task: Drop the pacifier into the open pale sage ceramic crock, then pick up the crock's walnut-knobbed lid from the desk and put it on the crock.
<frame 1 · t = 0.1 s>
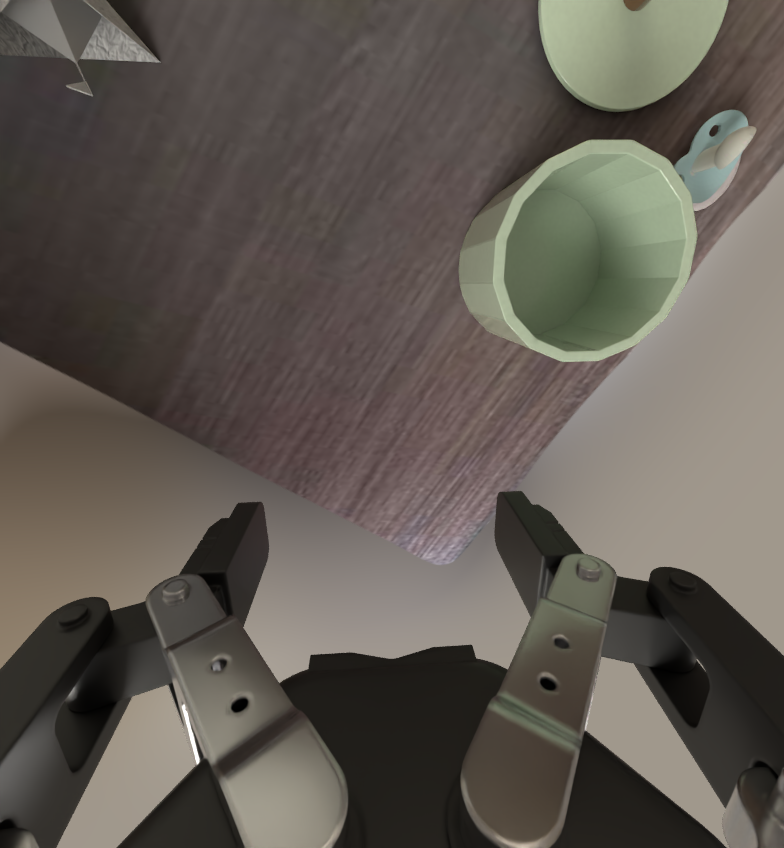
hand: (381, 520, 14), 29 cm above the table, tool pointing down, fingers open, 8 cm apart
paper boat: (83, 58, 32), on the table
crock: (532, 266, 39), on the table
pacifier: (698, 171, 38), on the table
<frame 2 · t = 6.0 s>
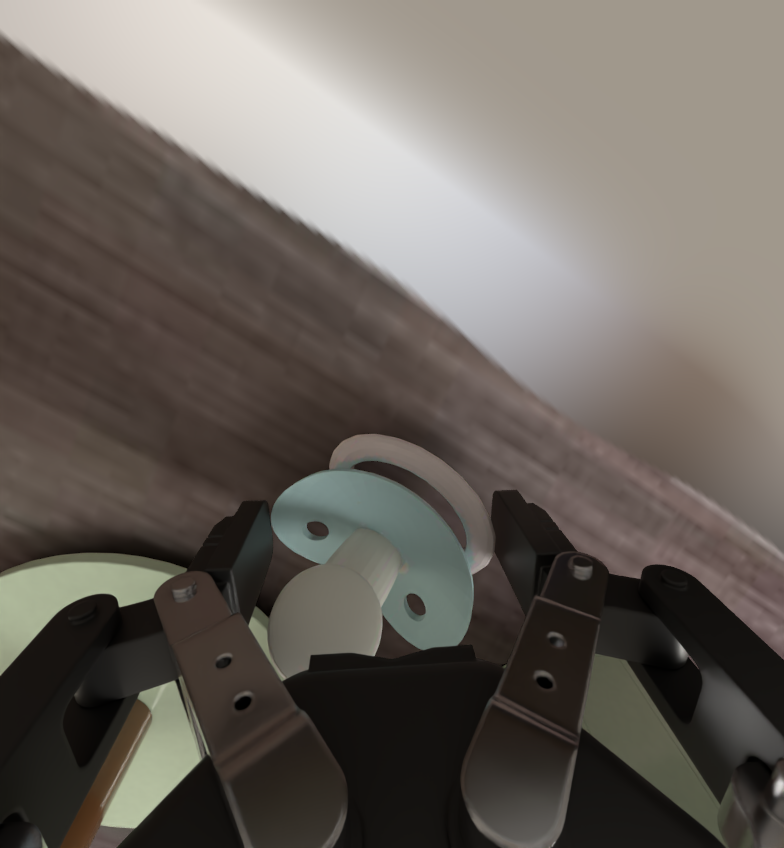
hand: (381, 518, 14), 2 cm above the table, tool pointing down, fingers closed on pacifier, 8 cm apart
lid: (131, 701, 18), point 1 cm above the table
crock: (560, 753, 21), on the table
pacifier: (403, 512, 15), point 1 cm above the table, touching gripper
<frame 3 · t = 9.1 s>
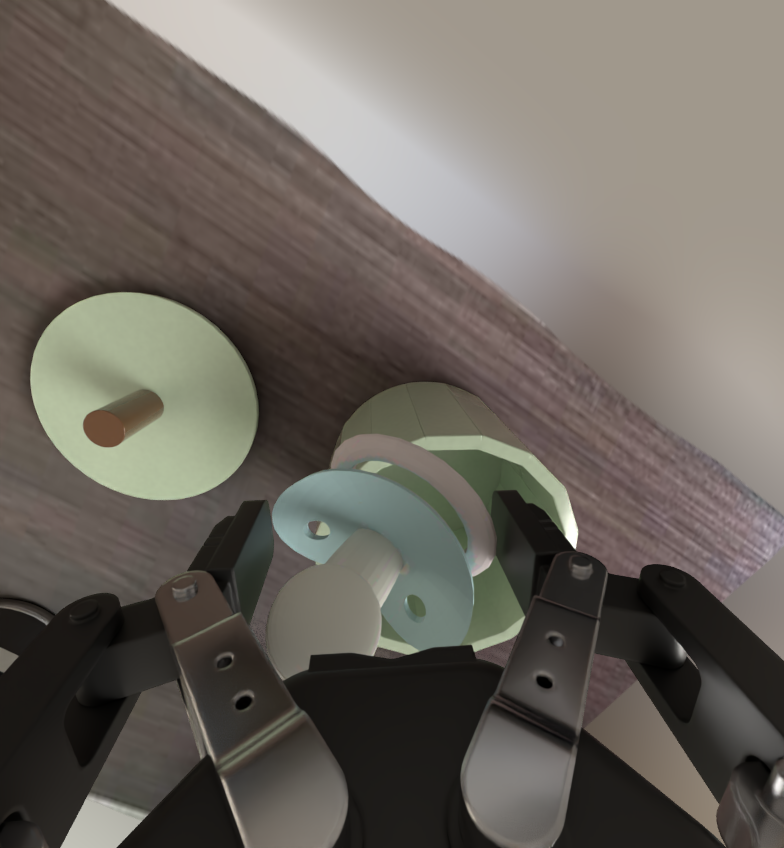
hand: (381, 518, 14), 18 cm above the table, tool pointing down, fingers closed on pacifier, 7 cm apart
lid: (151, 403, 30), point 1 cm above the table
crock: (421, 467, 33), on the table
pacifier: (405, 513, 15), point 17 cm above the table, touching gripper
when the fingers open (12 cm above the table, at t = 12.3 s): pacifier drops 11 cm, resting on crock.
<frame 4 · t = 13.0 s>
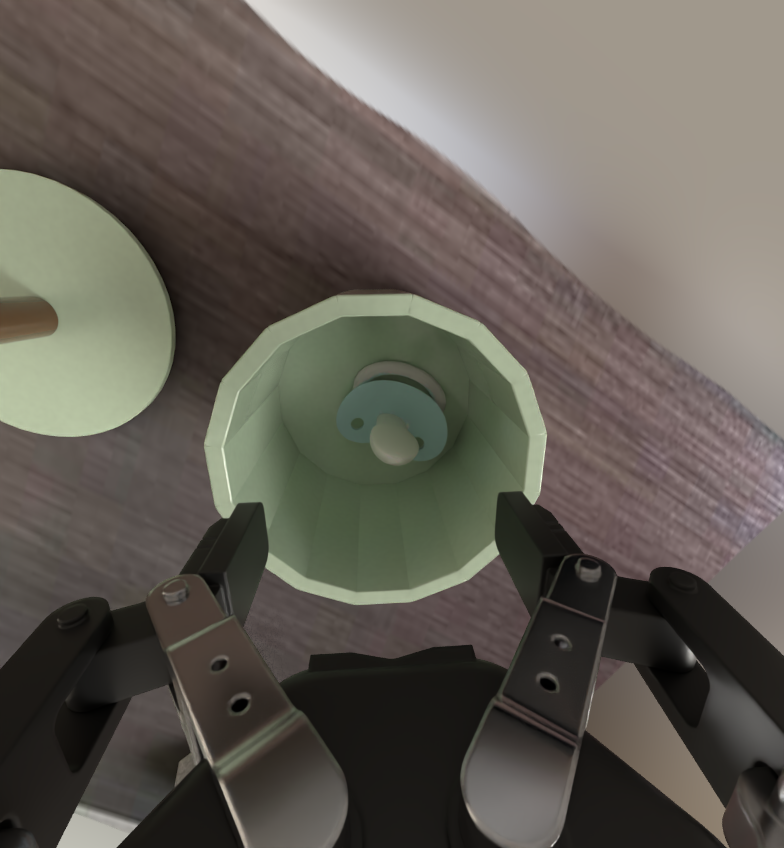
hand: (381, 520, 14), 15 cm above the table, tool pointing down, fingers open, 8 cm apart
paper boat: (225, 771, 40), on the table
lid: (44, 316, 25), point 1 cm above the table
crock: (375, 398, 28), on the table
pacifier: (395, 403, 28), resting on crock
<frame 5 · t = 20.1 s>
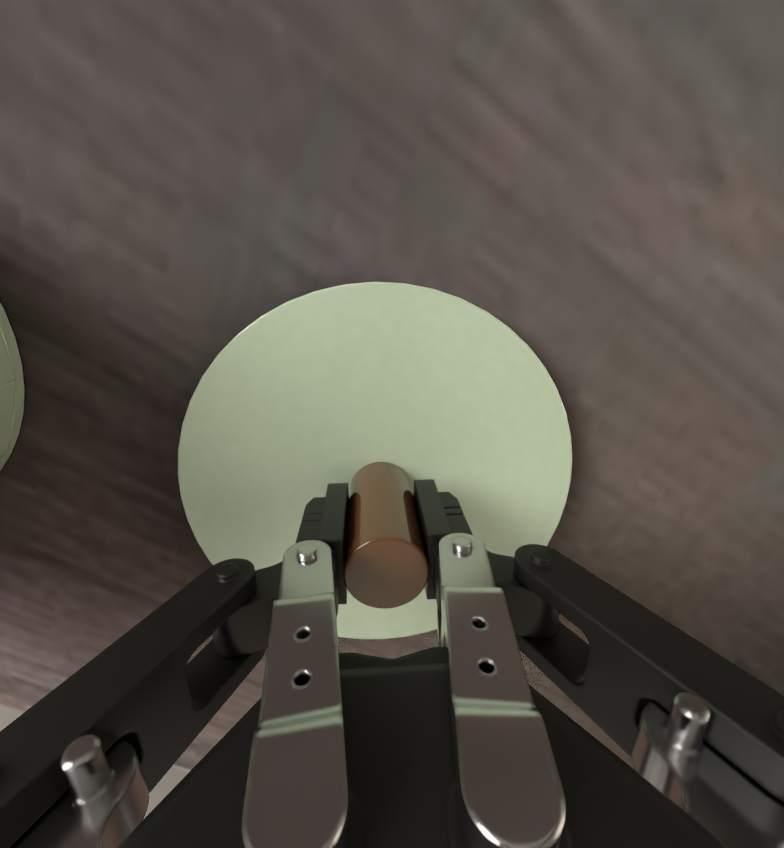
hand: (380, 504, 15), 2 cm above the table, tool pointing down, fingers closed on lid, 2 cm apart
lid: (380, 481, 17), point 1 cm above the table, touching gripper
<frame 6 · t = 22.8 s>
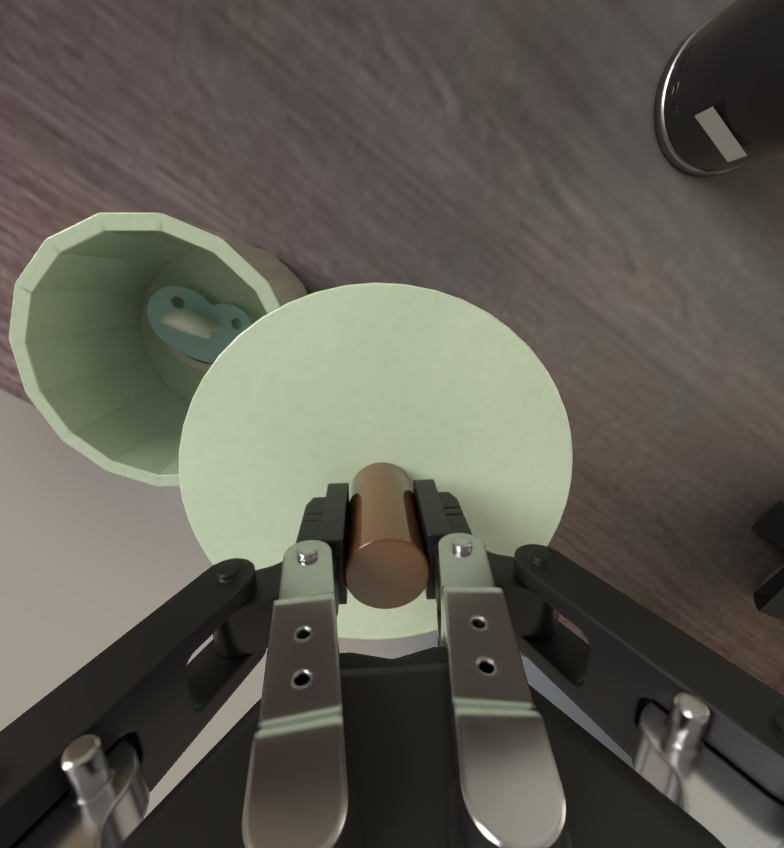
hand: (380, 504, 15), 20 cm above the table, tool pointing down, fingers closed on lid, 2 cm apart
lid: (380, 482, 17), point 18 cm above the table, touching gripper
crock: (229, 337, 32), on the table
pacifier: (209, 333, 32), resting on crock
when the fingers open (13 cm above the table, at t = 25.7 s): lid stays where it is, resting on crock.
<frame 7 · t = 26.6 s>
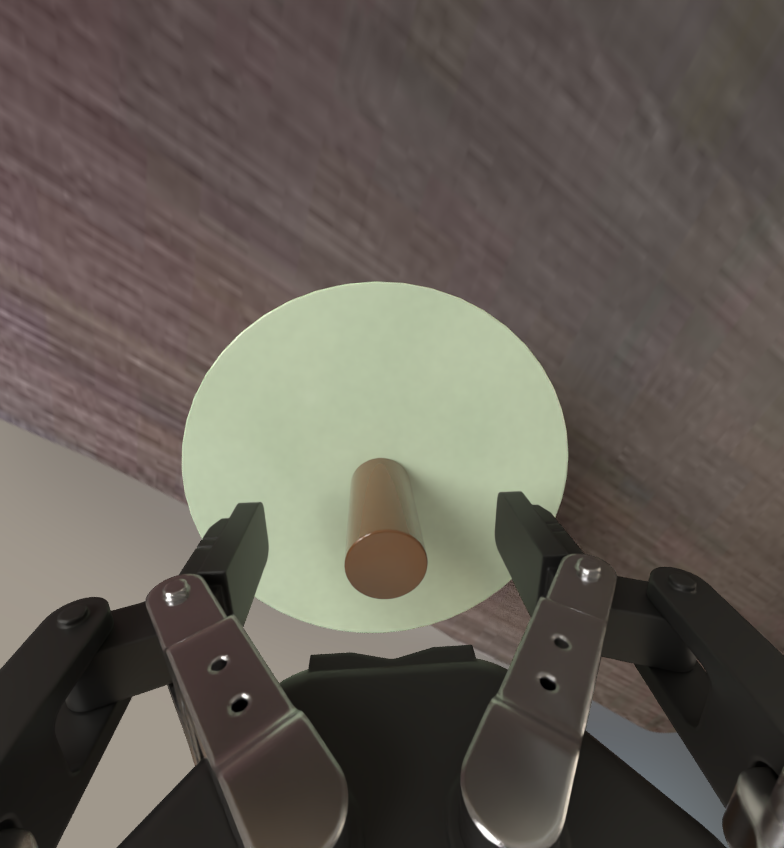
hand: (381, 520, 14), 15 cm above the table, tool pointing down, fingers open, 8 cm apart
lid: (380, 477, 17), point 11 cm above the table, touching crock
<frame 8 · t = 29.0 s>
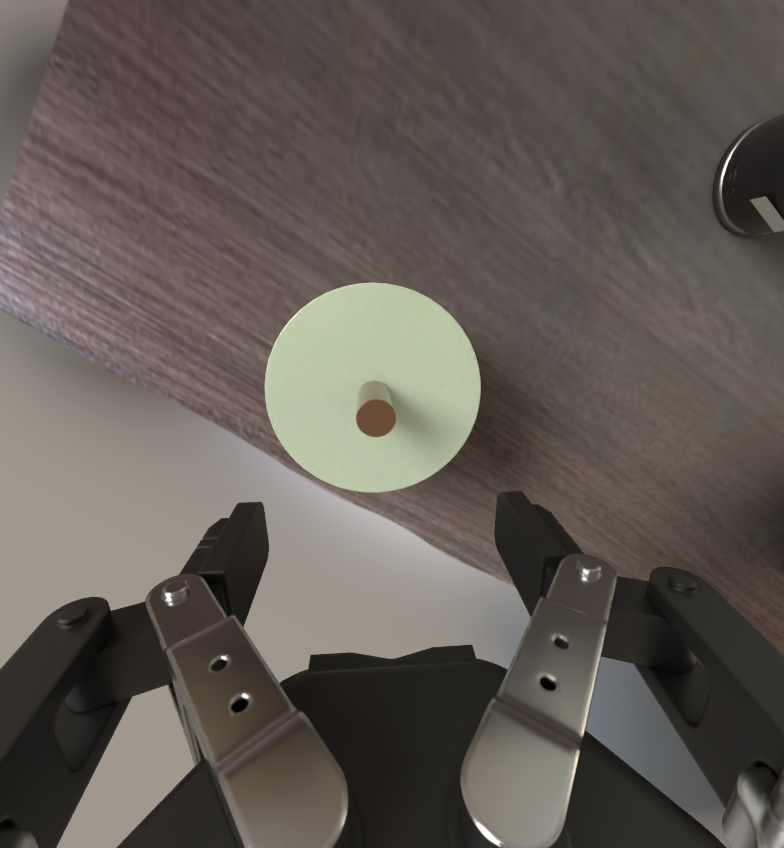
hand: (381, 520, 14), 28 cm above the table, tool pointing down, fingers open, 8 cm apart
lid: (374, 394, 30), point 11 cm above the table, touching crock
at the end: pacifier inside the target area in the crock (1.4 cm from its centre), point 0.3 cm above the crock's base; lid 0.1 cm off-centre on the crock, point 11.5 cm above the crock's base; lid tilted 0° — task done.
